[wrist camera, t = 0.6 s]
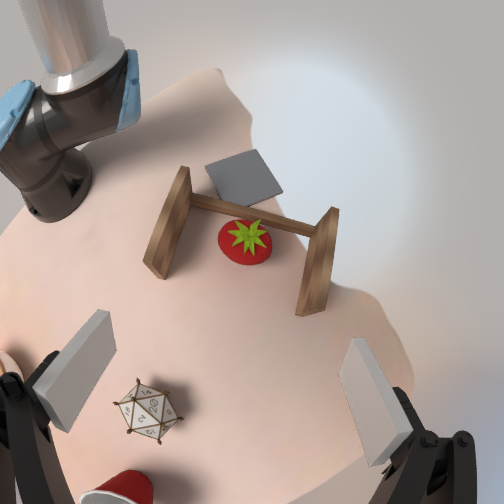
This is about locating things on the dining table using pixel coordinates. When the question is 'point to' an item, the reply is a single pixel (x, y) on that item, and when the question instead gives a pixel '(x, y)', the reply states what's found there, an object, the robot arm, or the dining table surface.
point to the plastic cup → (121, 490)
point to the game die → (148, 411)
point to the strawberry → (245, 242)
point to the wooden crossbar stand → (183, 198)
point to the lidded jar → (8, 365)
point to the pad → (243, 179)
